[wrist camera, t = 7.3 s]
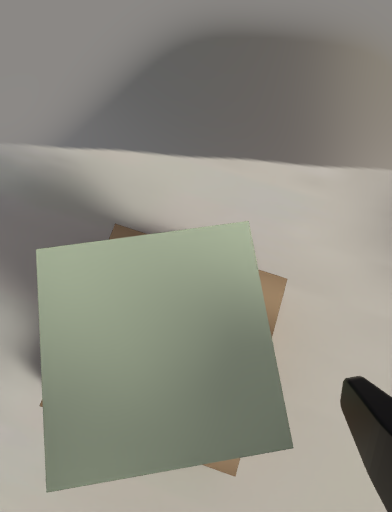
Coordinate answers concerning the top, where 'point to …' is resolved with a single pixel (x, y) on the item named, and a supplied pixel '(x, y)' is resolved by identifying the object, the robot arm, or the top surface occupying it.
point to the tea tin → (155, 355)
